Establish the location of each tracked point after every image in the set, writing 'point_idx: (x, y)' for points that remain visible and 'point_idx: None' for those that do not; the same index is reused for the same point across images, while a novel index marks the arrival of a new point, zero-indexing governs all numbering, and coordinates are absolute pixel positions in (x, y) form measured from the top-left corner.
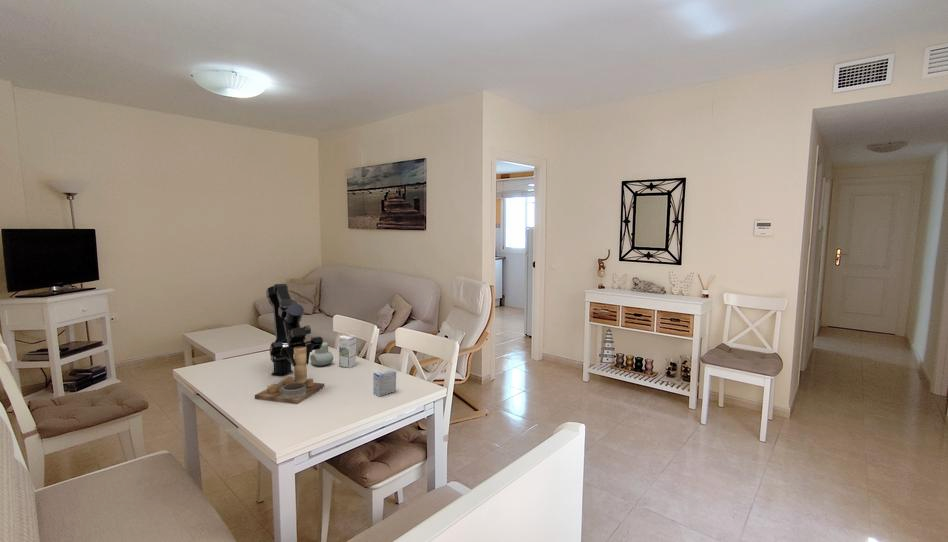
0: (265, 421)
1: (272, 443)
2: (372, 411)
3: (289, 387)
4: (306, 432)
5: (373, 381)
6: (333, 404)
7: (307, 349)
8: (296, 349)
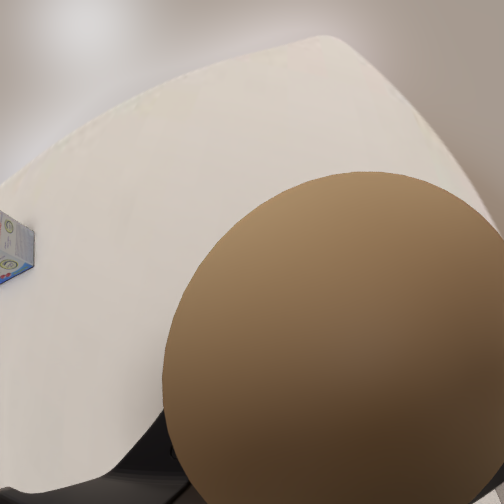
0: (406, 150)
1: (353, 53)
2: (94, 133)
3: None
4: (282, 65)
5: (3, 250)
6: (169, 211)
7: (170, 478)
8: (471, 217)
